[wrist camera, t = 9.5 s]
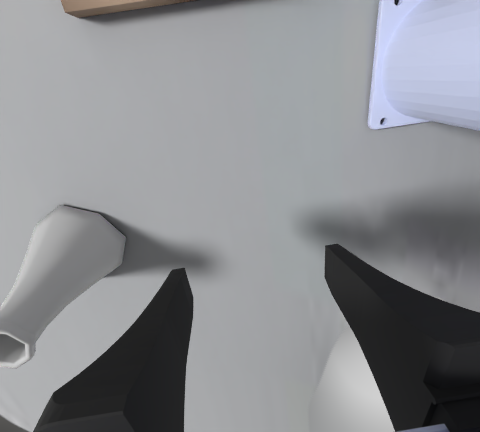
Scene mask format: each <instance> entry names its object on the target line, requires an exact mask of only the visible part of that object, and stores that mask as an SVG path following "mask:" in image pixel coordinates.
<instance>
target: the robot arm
mask: <svg viewBox="0 0 480 432" xmlns="http://www.w3.org/2000/svg"><path fill="white" fill-rule="evenodd" d="M382 118H384V122H383V123H382V124H380V121H381V119H382ZM428 121H435V122H440V123H444V124H449V125H454V126H459V127H464V128H469V129H474V130H478V131H480V0H399V3H398V5H397V6H396V5H395V4H394V0H380V2H379V10H378V20H377V31H376V41H375V52H374V62H373V73H372V83H371V93H370V104H369V114H368V126H369V128H371V129H375V130H376V129H383V128H389V127H396V126H402V125H409V124H415V123H422V122H428ZM325 279H326V281H327V284H328V286H329V289H330V291H331V294H332V296H333V297H334V299H335V301H336V303H337V304H338V306H339V308H340V310H341V311H342V313H343V315H344V317H345V318H346V320H347V322H348V324H349V325H350V327H351V329H352V330H353V332H354V334H355V336H356V338H357V340H358V342H359V344H360V346H361V349H362V351H363V353H364V355H365V358H366V360H367V362H368V364H369V367H370V369H371V371H372V374H373V376H374V378H375V381H376V383H377V386H378V388H379V390H380V393H381V396H382V398H383V401H384V403H385V406H386V408H387V411H388V413H389V416H390V419H391V421H392V424H393V427H394V429H395V432H480V313H479V312H475V311H472V310H469V309H466V308H463V307H460V306H457V305H453V304H451V303H448V302H445V301H442V300H440V299H437V298H434V297H432V296H430V295H427V294H425V293H422V292H420V291H418V290H415V289H413V288H411V287H409V286H407V285H405V284H403V283H401V282H398V281H397V280H395V279H393V278H391V277H389V276H387V275H386V274H384V273H382V272H380V271H379V270H377V269H375V268H374V267H372V266H370V265H369V264H367V263H366V262H364V261H362V260H361V259H359V258H358V257H356V256H355V255H353V254H352V253H350V252H349V251H348V250H346V249H345V248H343V247H342V246H340V245H338V244H333V245H327V246H325ZM192 320H193V295H192V291H191V288H190V285H189V281H188V278H187V275H186V271H185V268H180V269H174V270H172V271H171V272H170V274H169V275H168V277H167V279H166V280H165V282H164V283H163V285H162V286H161V288H160V289H159V291H158V292H157V294H156V295H155V296H154V298H153V299H152V301H151V302H150V303H149V305H148V306H147V307H146V309H145V310H144V311H143V313H142V314H141V315H140V316H139V318H138V319H137V320H136V321H135V322H134V324H133V325H132V326H131V327H130V328H129V329H128V330H127V331H126V332H125V333H124V334H123V335H122V336H121V337H120V338H119V339H118V340H117V341H116V342H115V343H114V344H113V345H112V346H111V347H110V348H109V349H108V350H107V351H106V352H105V353H104V354H102V355H101V356H100V357H99V358H98V359H97V360H96V361H94V362H93V363H92V364H91V365H89V366H88V367H87V368H86V369H85V370H83V371H82V372H81V373H80V374H78V375H77V376H76V377H74V378H73V379H72V380H70V381H69V382H67V383H66V384H65V385H63V386H62V387H61V388H59V389H58V390H57V391H55V392H54V393H53V395H52V396H51V398H50V400H49V402H48V403H47V405H46V407H45V409H44V411H43V413H42V415H41V417H40V419H39V421H38V423H37V425H36V427H35V429H34V431H33V432H184V400H185V376H186V363H187V355H188V348H189V341H190V334H191V327H192Z"/></svg>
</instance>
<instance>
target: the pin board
mask: <svg viewBox="0 0 480 432" xmlns="http://www.w3.org/2000/svg"><path fill="white" fill-rule="evenodd" d="M189 1H196V0H61V2H62V5H63V8H64V11H65V13H68V14H70V15H72V16H75V17H77V18H81V17H88V16H94V15H101V14H108V13H115V12H121V11H128V10H135V9H142V8H149V7H155V6H162V5H169V4H176V3H182V2H189Z"/></svg>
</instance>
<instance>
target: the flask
mask: <svg viewBox="0 0 480 432" xmlns="http://www.w3.org/2000/svg"><path fill="white" fill-rule="evenodd" d="M125 241H126V237H125V236H124V235H123V234H122V233H121V232H119V231H118V230H117V229H116V228H115V227H114V226H113V225H111V224H110V223H109V222H108V221H107V220H106V219H105V218H104V217H102V216H101V215H100V214H99V213H94V212H90V211H85V210H81V209H76V208H72V207H67V206H63V205H59V206H58V207H57V208H56V209H54V210H53V211H52V212H51V213H49V214H48V215H47V216H46V217H45V218H43V219H42V220H41V221H40V222H38V223H37V224H36V226H35V228H34V231H33V234H32V237H31V240H30V243H29V246H28V249H27V253H26V256H25V258H24V261H23V263H22V266H21V269H20V271H19V274H18V276H17V279H16V281H15V284H14V286H13V288H12V289H11V291H10V293H9V294H8V296H7V297H6V299H5V300H4V302H3V304H2V305H1V307H0V367H6V368H16V369H17V368H18V367H20V366H21V365H23V364H24V363H26V362H27V361H29V360H30V359H31V358H32V357H33V356H34V354H35V351H36V350H35V343H36V341H37V340H38V338H39V337H40V335H41V334H42V332H43V331H44V330H45V328H46V327H47V325H48V324H49V323H50V322H51V321H52V320H53V319H54V318H55V317H56V316H57V315H58V314H59V313H60V312H61V311H62V310H63V309H64V308H65V307H66V306H67V305H68V304H69V303H70V302H72V301H73V300H74V299H76V298H77V297H78V296H79V295H81V294H82V293H83V292H85V291H86V290H87V289H88V288H90V287H91V286H92V285H93V284H95V283H96V282H98V281H99V280H100V279H102V278H103V277H105V276H106V275H107V274H109V273H110V272H112V271H113V270H114V269H116V268H117V267H118V266H120V265H121V264H122V261H123V254H124V248H125Z"/></svg>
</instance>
